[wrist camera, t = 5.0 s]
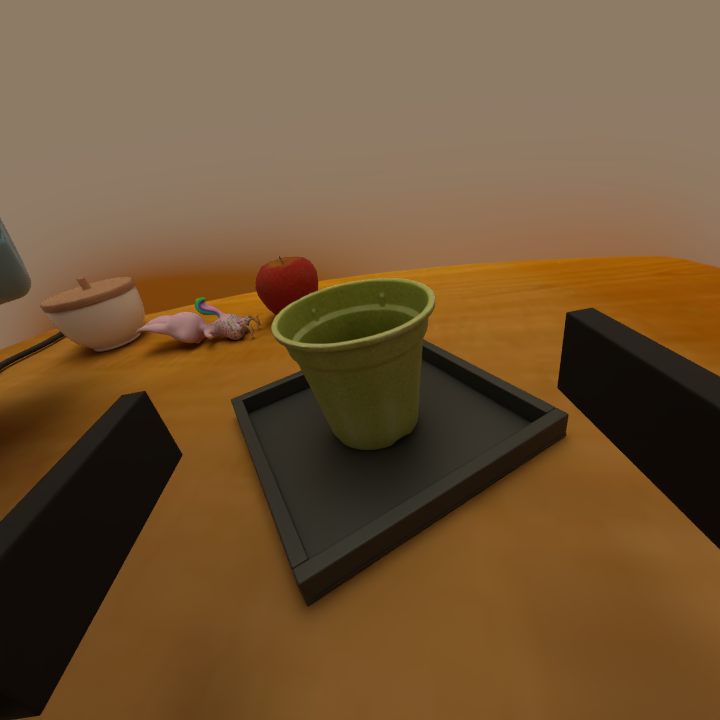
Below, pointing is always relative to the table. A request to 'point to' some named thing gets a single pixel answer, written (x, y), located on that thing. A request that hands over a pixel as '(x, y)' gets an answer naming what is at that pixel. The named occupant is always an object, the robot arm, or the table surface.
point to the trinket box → (98, 313)
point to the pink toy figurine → (200, 324)
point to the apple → (285, 282)
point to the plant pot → (361, 355)
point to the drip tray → (385, 464)
